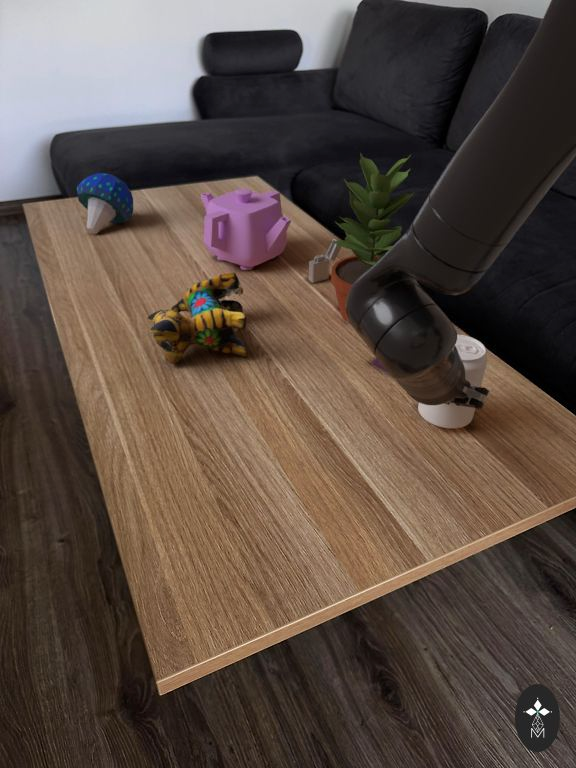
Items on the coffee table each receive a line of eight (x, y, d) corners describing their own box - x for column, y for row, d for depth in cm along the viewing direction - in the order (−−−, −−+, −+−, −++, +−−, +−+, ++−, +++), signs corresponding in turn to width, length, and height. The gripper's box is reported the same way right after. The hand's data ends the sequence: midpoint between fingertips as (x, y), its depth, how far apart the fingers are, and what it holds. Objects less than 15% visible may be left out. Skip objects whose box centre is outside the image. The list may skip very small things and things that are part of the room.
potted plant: (320, 296, 119) (327, 140, 101) (394, 293, 120) (414, 139, 102) (331, 336, 107) (341, 167, 89) (413, 332, 108) (439, 165, 90)
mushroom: (53, 207, 136) (80, 153, 140) (74, 236, 150) (98, 187, 153) (110, 225, 135) (135, 170, 139) (126, 253, 149) (148, 203, 152)
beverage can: (417, 396, 93) (430, 329, 86) (470, 403, 92) (487, 335, 85) (417, 427, 86) (430, 357, 80) (473, 435, 85) (492, 365, 78)
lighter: (312, 283, 124) (313, 247, 119) (308, 279, 125) (309, 244, 120) (340, 275, 126) (342, 240, 122) (336, 272, 128) (338, 237, 123)
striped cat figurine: (239, 330, 116) (146, 336, 112) (239, 268, 111) (142, 271, 106) (262, 369, 99) (153, 378, 94) (263, 298, 93) (148, 303, 89)
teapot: (204, 241, 140) (199, 177, 131) (280, 238, 142) (280, 174, 133) (206, 278, 125) (200, 209, 116) (291, 274, 127) (292, 205, 118)
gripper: (497, 355, 65) (503, 388, 81) (387, 320, 71) (413, 357, 87) (471, 417, 65) (482, 438, 80) (363, 377, 70) (394, 404, 86)
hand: (447, 396), depth 83 cm, fingers closed
